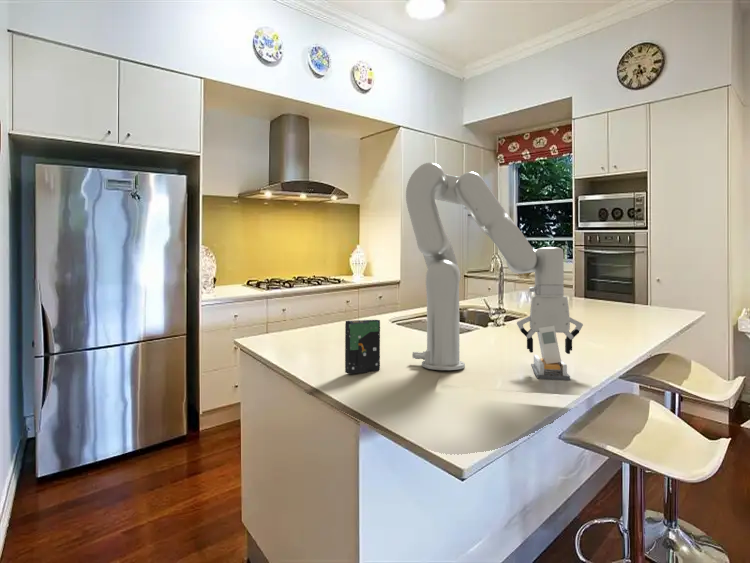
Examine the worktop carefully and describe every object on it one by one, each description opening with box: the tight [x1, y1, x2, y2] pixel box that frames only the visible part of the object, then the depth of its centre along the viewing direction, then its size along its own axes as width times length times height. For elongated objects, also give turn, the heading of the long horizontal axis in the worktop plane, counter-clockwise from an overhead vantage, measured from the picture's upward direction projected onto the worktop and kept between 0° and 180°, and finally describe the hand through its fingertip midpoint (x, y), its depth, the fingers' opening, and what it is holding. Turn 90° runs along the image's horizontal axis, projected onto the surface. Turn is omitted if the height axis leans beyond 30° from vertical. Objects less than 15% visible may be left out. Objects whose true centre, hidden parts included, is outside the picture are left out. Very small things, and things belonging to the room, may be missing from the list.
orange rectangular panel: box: [539, 357, 560, 370], centre depth 124 cm, size 4×11×1 cm, turn 166°
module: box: [536, 326, 562, 364], centre depth 124 cm, size 4×7×10 cm, turn 166°
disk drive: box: [344, 319, 381, 375], centre depth 126 cm, size 10×3×15 cm, turn 120°
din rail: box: [530, 354, 571, 381], centre depth 124 cm, size 8×16×4 cm, turn 166°
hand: (549, 352), depth 124 cm, fingers open, 9 cm apart
